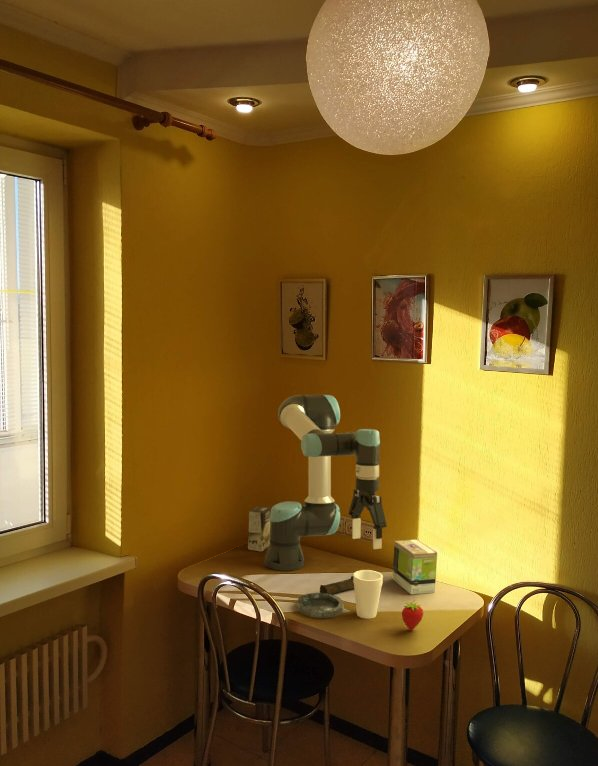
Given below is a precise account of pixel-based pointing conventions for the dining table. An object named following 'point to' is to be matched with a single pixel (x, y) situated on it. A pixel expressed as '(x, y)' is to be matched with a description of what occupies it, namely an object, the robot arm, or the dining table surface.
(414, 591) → the tea box
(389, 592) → the dining table surface
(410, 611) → the strawberry
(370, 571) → the foam cup
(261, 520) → the coffee box
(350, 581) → the hand tool
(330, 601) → the grey shallow round dish
